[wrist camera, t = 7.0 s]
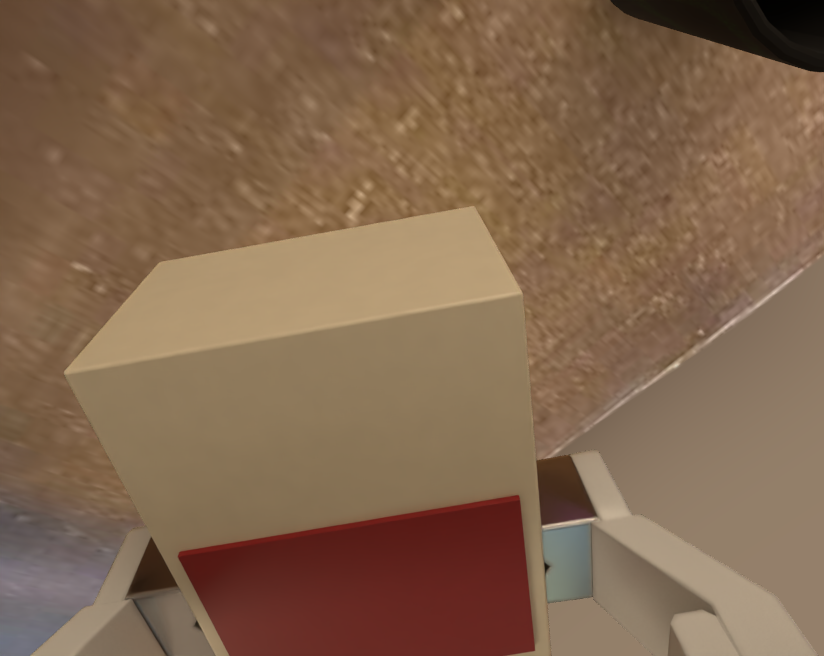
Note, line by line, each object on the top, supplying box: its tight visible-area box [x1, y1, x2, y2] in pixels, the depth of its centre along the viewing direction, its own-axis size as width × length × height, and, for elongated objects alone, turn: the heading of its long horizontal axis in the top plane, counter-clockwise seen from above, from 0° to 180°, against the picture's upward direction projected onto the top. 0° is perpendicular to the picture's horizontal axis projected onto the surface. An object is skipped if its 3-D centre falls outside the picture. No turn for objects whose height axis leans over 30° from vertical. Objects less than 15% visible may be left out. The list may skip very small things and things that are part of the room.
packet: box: [64, 206, 551, 656], centre depth 11 cm, size 10×6×4 cm, turn 9°
